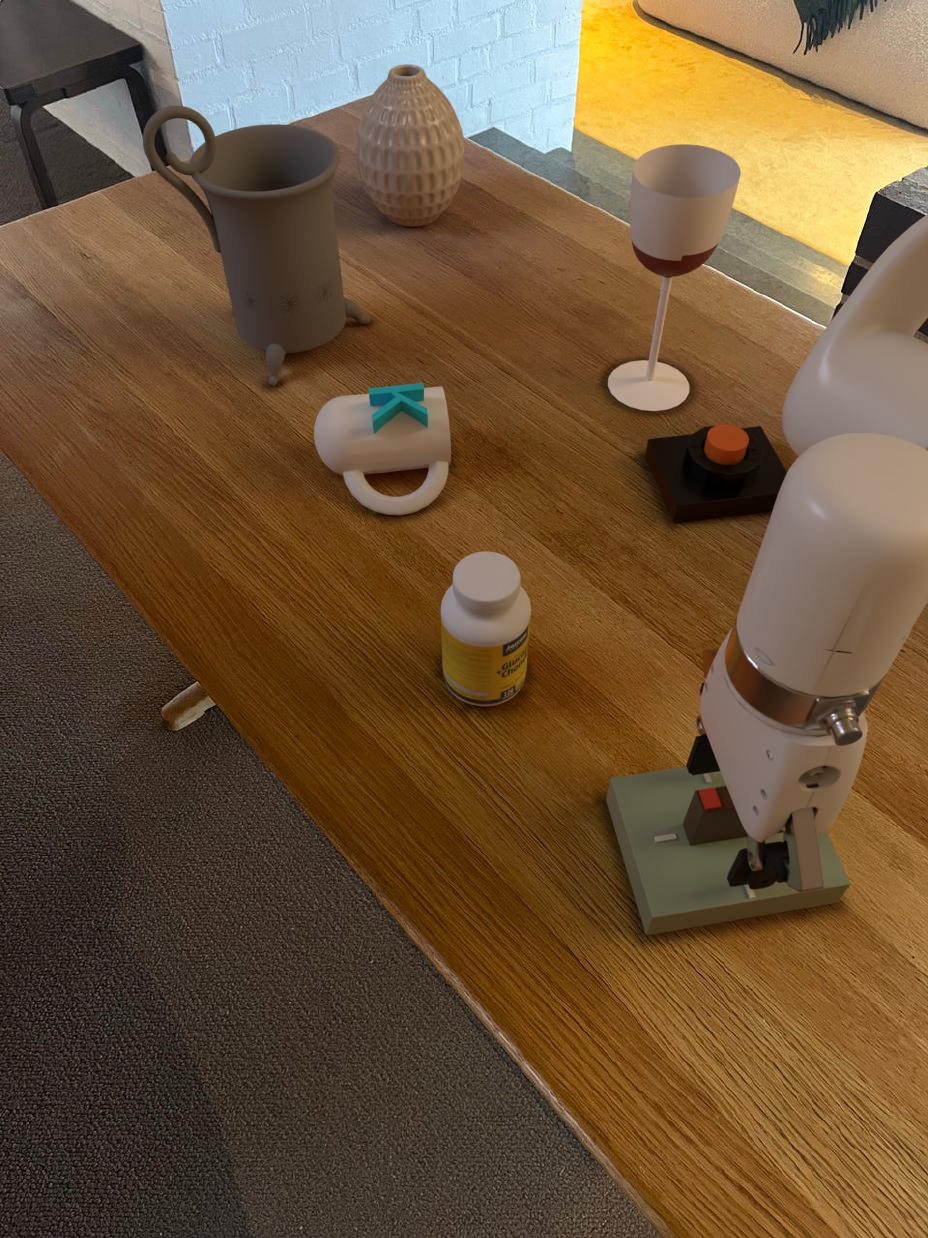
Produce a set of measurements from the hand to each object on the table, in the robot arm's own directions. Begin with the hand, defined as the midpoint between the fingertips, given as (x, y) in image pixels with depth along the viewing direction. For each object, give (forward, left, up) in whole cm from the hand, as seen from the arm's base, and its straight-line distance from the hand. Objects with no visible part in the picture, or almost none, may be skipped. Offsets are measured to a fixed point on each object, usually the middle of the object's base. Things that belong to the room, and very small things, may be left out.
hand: (729, 820), depth 62 cm
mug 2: (+18, -41, -4) cm, 45 cm away
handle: (0, 0, -1) cm, 1 cm away
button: (-12, -35, -1) cm, 37 cm away
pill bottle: (+13, -17, -4) cm, 22 cm away
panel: (0, 0, -4) cm, 4 cm away
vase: (+9, -88, -4) cm, 89 cm away
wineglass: (-10, -50, -4) cm, 51 cm away
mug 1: (+26, -64, -4) cm, 69 cm away
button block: (-12, -35, -4) cm, 37 cm away
